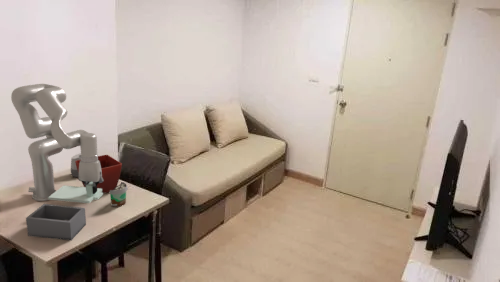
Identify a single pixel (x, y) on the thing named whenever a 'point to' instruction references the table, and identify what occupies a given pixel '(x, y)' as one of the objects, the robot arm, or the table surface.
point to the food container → (118, 195)
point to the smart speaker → (74, 165)
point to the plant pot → (107, 172)
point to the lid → (76, 194)
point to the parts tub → (56, 222)
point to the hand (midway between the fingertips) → (91, 192)
